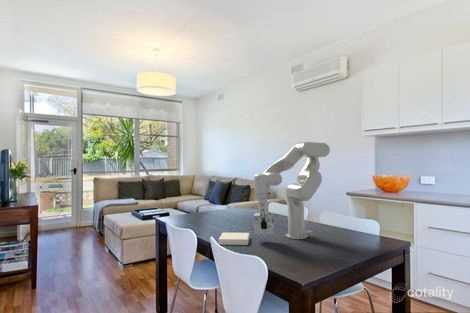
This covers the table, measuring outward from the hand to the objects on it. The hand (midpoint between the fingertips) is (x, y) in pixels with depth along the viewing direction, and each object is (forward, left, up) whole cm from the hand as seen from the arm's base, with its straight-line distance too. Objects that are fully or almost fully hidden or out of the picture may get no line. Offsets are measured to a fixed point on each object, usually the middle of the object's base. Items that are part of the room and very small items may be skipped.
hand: (264, 226), depth 155 cm
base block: (+17, 0, -8) cm, 19 cm away
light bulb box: (0, 0, -4) cm, 4 cm away
